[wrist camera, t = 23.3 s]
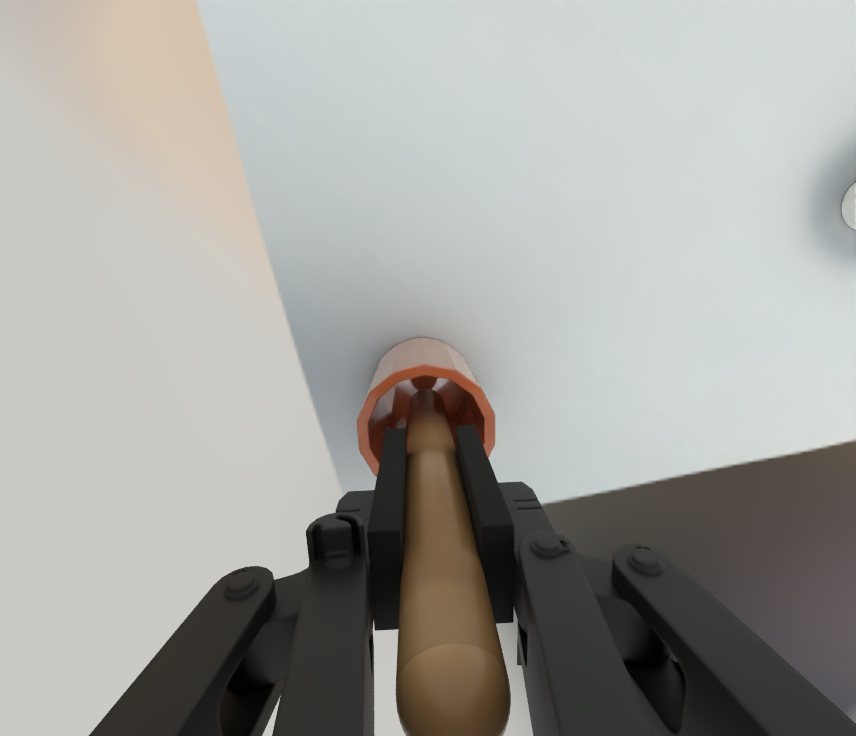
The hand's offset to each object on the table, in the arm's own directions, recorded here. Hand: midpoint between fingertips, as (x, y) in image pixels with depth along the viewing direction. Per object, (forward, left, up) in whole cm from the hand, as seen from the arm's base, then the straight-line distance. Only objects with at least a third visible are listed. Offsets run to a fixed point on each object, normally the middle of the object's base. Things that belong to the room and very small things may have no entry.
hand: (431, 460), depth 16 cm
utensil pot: (0, 0, -11) cm, 11 cm away
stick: (0, 0, -8) cm, 8 cm away
